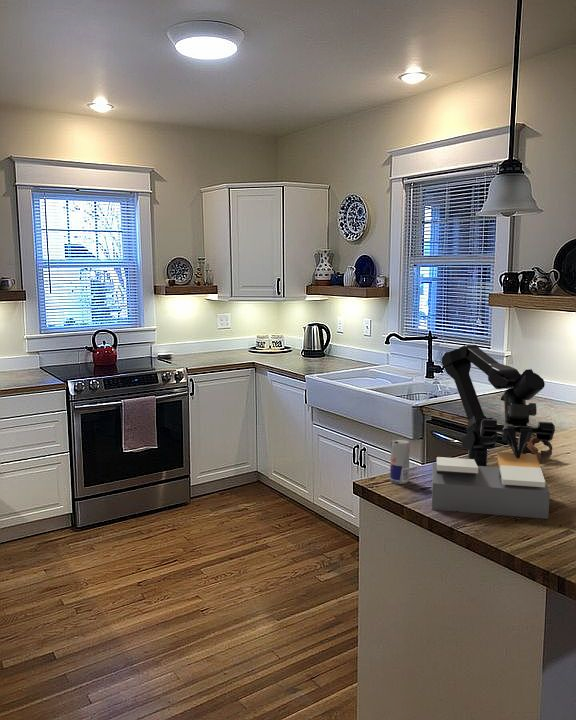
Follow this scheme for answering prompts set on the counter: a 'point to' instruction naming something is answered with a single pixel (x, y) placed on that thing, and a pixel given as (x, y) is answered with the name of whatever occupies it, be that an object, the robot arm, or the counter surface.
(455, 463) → the rocker plain
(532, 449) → the brown chain link decor
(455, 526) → the counter surface
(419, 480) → the counter surface
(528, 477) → the orange and white panel
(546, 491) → the switch strip
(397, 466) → the energy drink
